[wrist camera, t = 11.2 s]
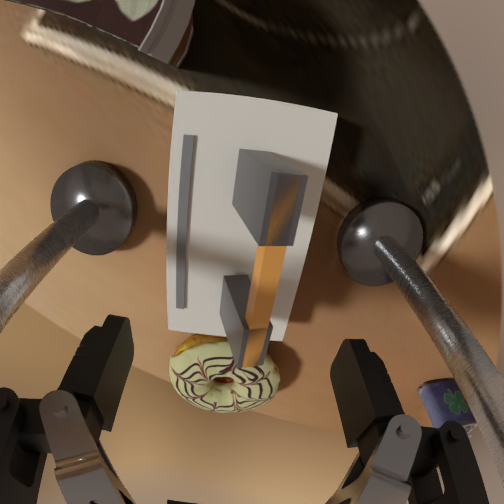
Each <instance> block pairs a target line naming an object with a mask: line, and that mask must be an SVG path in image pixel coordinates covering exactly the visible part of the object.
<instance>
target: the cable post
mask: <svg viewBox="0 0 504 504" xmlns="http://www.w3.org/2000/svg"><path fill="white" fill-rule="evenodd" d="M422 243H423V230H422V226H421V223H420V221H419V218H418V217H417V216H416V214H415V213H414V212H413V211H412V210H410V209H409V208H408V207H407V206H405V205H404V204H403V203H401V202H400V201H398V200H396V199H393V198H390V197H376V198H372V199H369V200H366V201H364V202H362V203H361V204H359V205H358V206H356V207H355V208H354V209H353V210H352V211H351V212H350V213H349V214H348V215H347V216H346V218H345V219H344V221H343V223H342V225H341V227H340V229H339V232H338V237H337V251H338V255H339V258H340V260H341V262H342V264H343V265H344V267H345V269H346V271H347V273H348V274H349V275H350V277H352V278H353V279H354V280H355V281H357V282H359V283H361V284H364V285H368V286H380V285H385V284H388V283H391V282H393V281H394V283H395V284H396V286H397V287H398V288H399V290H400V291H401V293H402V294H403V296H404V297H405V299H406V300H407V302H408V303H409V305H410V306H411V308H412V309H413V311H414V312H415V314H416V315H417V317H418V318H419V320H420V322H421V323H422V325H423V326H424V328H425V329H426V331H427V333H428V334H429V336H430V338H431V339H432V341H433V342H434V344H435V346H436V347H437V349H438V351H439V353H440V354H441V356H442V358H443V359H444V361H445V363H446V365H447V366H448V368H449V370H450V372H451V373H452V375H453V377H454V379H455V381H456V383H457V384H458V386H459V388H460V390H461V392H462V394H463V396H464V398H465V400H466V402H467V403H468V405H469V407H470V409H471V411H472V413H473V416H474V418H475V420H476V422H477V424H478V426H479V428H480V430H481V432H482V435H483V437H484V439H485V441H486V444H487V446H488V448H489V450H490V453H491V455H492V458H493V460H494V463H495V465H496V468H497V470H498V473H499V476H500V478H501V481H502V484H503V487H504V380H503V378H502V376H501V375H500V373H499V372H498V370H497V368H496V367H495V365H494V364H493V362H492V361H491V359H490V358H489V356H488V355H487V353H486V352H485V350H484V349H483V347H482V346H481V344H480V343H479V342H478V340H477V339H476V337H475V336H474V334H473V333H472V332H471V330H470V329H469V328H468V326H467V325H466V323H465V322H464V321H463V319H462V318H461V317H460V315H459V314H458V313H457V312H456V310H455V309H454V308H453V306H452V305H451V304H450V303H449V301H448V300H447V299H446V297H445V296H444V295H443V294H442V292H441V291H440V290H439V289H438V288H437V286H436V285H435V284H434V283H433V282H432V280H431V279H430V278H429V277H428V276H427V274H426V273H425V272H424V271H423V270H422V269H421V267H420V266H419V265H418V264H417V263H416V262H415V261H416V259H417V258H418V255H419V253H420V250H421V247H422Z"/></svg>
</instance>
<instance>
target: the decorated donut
mask: <svg viewBox="0 0 504 504" xmlns="http://www.w3.org/2000/svg"><path fill="white" fill-rule="evenodd" d="M169 374H170V379H171V382H172V384H173V386H174V388H175V389H176V391H177V392H178V394H179V395H180V396H181V397H183V398H184V399H185V400H187V401H189V402H190V403H191V404H193V405H194V406H196V407H199V408H202V409H206V410H209V411H213V412H220V413H238V412H242V411H246V410H250V409H254V408H257V407H260V406H262V405H264V404H266V403H268V402H269V401H270V400H271V399H272V398H273V397H274V396H275V394H276V393H277V390H278V387H279V386H278V384H279V382H280V372H279V369H278V367H277V365H276V364H275V362H274V360H273V358H272V357H271V356H270V355H269V354H268V353H266V356H265V360H264V364H263V365H261V366H254V367H246V368H238V369H237V367H236V364H235V361H234V358H233V355H232V352H231V349H230V345H229V342H228V339H227V337H224V336H215V335H206V334H194V335H192V336H190V337H189V338H188V339H187V340H186V341H185V342H183V343H182V344H181V345H180V346H179V347H178V349H177V350H176V352H175V354H174V356H172V357H171V358H170V367H169Z"/></svg>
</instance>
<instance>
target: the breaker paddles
mask: <svg viewBox="0 0 504 504" xmlns="http://www.w3.org/2000/svg"><path fill="white" fill-rule="evenodd" d="M307 180H308V175H307V174H305V173H303V172H302V171H300V170H298V169H297V168H295V167H293V166H292V165H290V164H288V163H287V162H285V161H283V160H282V159H280V158H278V157H277V156H275V155H273V154H271V153H270V152H268V151H260V150H249V149H239V155H238V162H237V170H236V177H235V185H234V192H233V200H232V205H233V206H234V208H235V210H236V211H237V213H238V214H239V216H240V217H241V219H242V221H243V222H244V224H245V225H246V227H247V228H248V230H249V232H250V233H251V235H252V236H253V238H254V240H255V241H256V243H257V244H258V246H257V251H256V257H255V263H254V269H253V275H252V280H251V281H250V279H249V277H248V275H224V276H223V284H222V294H221V303H220V313H219V314H220V317H221V320H222V323H223V327H224V330H225V333H226V336H227V339H228V342H229V345H230V349H231V352H232V355H233V358H234V361H235V364H236V367H237V369H238V368H246V367H254V366H261V365H263V364H264V360H265V356H266V353H267V349H268V345H269V341H270V338H271V334H272V330H273V325H272V323H271V321H270V317H271V313H272V309H273V305H274V300H275V296H276V292H277V288H278V283H279V279H280V275H281V270H282V266H283V261H284V257H285V253H286V248H287V246H293V244H294V240H295V236H296V231H297V227H298V222H299V218H300V213H301V209H302V204H303V199H304V195H305V190H306V185H307Z"/></svg>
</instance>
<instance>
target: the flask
mask: <svg viewBox="0 0 504 504" xmlns="http://www.w3.org/2000/svg"><path fill="white" fill-rule="evenodd" d="M420 387H422V388H418V389H417V390H418V393H419V395H420V397H421V400H422V401H423V404H424V406H425V408H426V410H427V413H428V415H429V417H430V419H431V422H432V425H433V427H434V428H439V427H441V426H442V425H443V424H444V423H445V422H447V421H456V422H458V423H459V424H461V425H462V426H463V427H464V429H465V431H466V433H470V431H471V430H473V429H474V428H475V427H476V426H477V425H478V424H477V422H476V420H475V418H474V416H473V413H472V411H471V409H470V407H469V405H468V403H467V402H466V400H465V398H464V396H463V394H462V392H461V390H460V388H459V386H458V384H457V383H456V381H455V379H454V378H446V379H438V380H431V381H429V382H426V383H423V384H421V385H420ZM467 436H469V437H471V434H469V435H467Z"/></svg>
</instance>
